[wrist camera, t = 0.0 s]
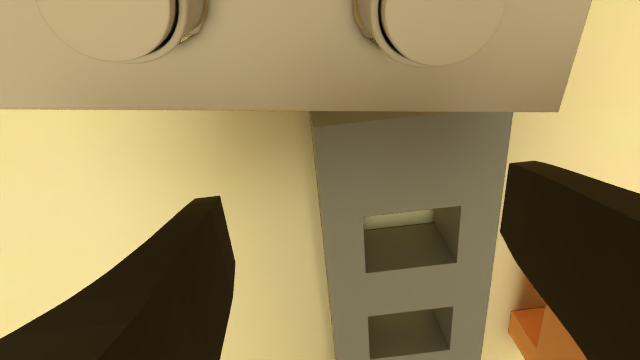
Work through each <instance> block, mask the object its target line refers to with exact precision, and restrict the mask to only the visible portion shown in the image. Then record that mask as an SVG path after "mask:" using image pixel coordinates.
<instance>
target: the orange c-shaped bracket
mask: <svg viewBox="0 0 640 360" xmlns="http://www.w3.org/2000/svg"><path fill="white" fill-rule="evenodd" d="M508 332H509V334H510V335H511V337H512V339H513V340H514V342H515V344H516V345H517V347H518V349H519V350H520V352H521V354H522V355H523V357H524V358H525V360H587V359H586V357H585V355H584V354H583V352H582V351H581V350H580V348H579V347H578V345H577V344H576V342H575V341H574V339H573V338H572V337H571V335H570V334H569V333H568V331H567V330H566V329H565V327H564V326H563V325H562V323H561V322H560V321H559V319H558V318H557V317H556V315H555V314H554V313H553V311H552V310H551V309H550V307H549V306H548V305H547V304H546V307H543V308H534V309H526V310H518V311H511V317H510V323H509V329H508Z"/></svg>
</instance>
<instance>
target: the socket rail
mask: <svg viewBox="0 0 640 360" xmlns="http://www.w3.org/2000/svg"><path fill="white" fill-rule="evenodd" d="M512 116H513V112H414V111H310V121H311V130H312V140H313V149H314V159H315V168H316V178H317V187H318V197H319V206H320V216H321V226H322V235H323V245H324V254H325V264H326V273H327V283H328V292H329V302H330V311H331V321H332V330H333V340H334V350H335V359H336V360H481V354H482V346H483V338H484V331H485V323H486V315H487V308H488V300H489V292H490V285H491V277H492V269H493V262H494V254H495V246H496V239H497V231H498V223H499V216H500V208H501V200H502V193H503V185H504V177H505V170H506V162H507V154H508V147H509V139H510V131H511V124H512ZM428 209H435V212H434V223H427V224H418V225H410V226H401V227H392V228H383V229H375V230H366V231H364V230H363V217H366V216H375V215H384V214H393V213H401V212H410V211H419V210H428Z"/></svg>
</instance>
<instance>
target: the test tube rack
mask: <svg viewBox="0 0 640 360" xmlns="http://www.w3.org/2000/svg"><path fill="white" fill-rule="evenodd" d="M591 2H592V0H0V109H54V110H239V111H414V112H558V111H559V108H560V105H561V101H562V98H563V95H564V92H565V88H566V85H567V82H568V78H569V75H570V72H571V68H572V65H573V62H574V58H575V55H576V52H577V48H578V45H579V42H580V38H581V35H582V32H583V28H584V25H585V22H586V18H587V15H588V12H589V8H590V5H591ZM185 35H192V36H191V37H189V38H188V39H186V40H185V41H183V42H180V41H181V39H182V37H184V36H185ZM369 38H375V40H376V42H377V44H376V43H375V42H373V41H372V40H370V39H369Z"/></svg>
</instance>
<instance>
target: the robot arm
mask: <svg viewBox="0 0 640 360" xmlns="http://www.w3.org/2000/svg"><path fill="white" fill-rule="evenodd" d="M500 233H501V235H502V236H503V238H504V240H505V242H506V244H507V246H508V248H509V250H510V252H511V254H512V255H513V257H514V259H515V261H516V263H517V264H518V266H519V267H520V268H521V270H522V271H523V273H524V274H525V275H526V277H527V278H528V279H529V281H530V282H531V284H532V285H533V286H534V288H535V289H536V290H537V292H538V293H539V294H540V296H541V297H542V298H543V300H544V301H545V302H546V304H547V305H548V306H549V307H550V309H551V310H552V311H553V313H554V314H555V315H556V317H557V318H558V319H559V321H560V322H561V323H562V325H563V326H564V327H565V329H566V330H567V331H568V333H569V334H570V335H571V337H572V338H573V339H574V341H575V342H576V344H577V345H578V347H579V348H580V350H581V351H582V352H583V354H584V355H585V357H586V359H587V360H640V194H639V193H636V192H633V191H630V190H627V189H624V188H620V187H617V186H614V185H611V184H608V183H605V182H602V181H600V180H597V179H594V178H591V177H588V176H585V175H582V174H579V173H576V172H573V171H570V170H567V169H563V168H560V167H557V166H554V165H550V164H546V163H542V162H537V161H527V162H518V163H509V169H508V176H507V184H506V191H505V199H504V206H503V214H502V221H501V229H500ZM234 275H235V259H234V255H233V250H232V246H231V242H230V237H229V233H228V229H227V224H226V220H225V216H224V211H223V207H222V203H221V198H220V196H214V197H206V198H197V199H194V200H193V201H191V202H190V203H189V204H188V205H186V206H185V207H184V208H183V209H182V210H181V211H180V212H178V213H177V214H176V215H175V216H174V217H173V218H172V219H171V220H170V221H168V222H167V223H166V224H165V225H164V226H163V227H162V228H161V229H159V230H158V231H157V232H156V233H155V234H154V235H153V236H152V237H150V238H149V239H148V240H147V241H146V242H145V243H143V244H142V245H141V246H140V247H138V248H137V249H136V250H135V251H134V252H132V253H131V254H130V255H129V256H127V257H126V258H125V259H124V260H122V261H121V262H120V263H119V264H117V265H116V266H115V267H114V268H112V269H111V270H110V271H108V272H107V273H106V274H104V275H103V276H102V277H100V278H99V279H97V280H96V281H95V282H93V283H92V284H90V285H89V286H87V287H86V288H84V289H83V290H81V291H80V292H78V293H77V294H75V295H74V296H72V297H71V298H69V299H68V300H66V301H65V302H63V303H61V304H60V305H58V306H56V307H55V308H53V309H51V310H50V311H48V312H46V313H44V314H43V315H41V316H39V317H38V318H36V319H34V320H32V321H31V322H29V323H27V324H26V325H24V326H22V327H20V328H19V329H17V330H15V331H14V332H12V333H10V334H8V335H6V336H4V337H3V338H1V339H0V360H220V356H221V351H222V347H223V342H224V337H225V333H226V328H227V323H228V319H229V314H230V309H231V304H232V299H233V289H234Z"/></svg>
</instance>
